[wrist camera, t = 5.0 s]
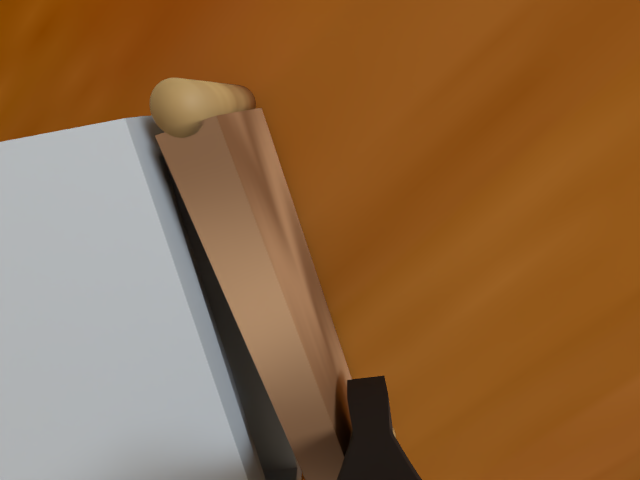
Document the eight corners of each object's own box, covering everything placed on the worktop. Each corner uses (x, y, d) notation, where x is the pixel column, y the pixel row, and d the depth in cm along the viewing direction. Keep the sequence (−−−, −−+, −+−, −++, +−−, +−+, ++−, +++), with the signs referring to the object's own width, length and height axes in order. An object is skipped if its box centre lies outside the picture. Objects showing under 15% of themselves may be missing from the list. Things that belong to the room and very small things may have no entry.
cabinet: (302, 463, 17) (291, 607, 12) (90, 485, 17) (3, 628, 13) (208, 109, 11) (124, 118, 7) (-87, 164, 12) (-343, 207, 8)
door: (213, 92, 11) (134, 89, 7) (288, 67, 11) (259, 47, 6) (349, 459, 16) (356, 597, 12) (402, 449, 16) (430, 586, 11)
